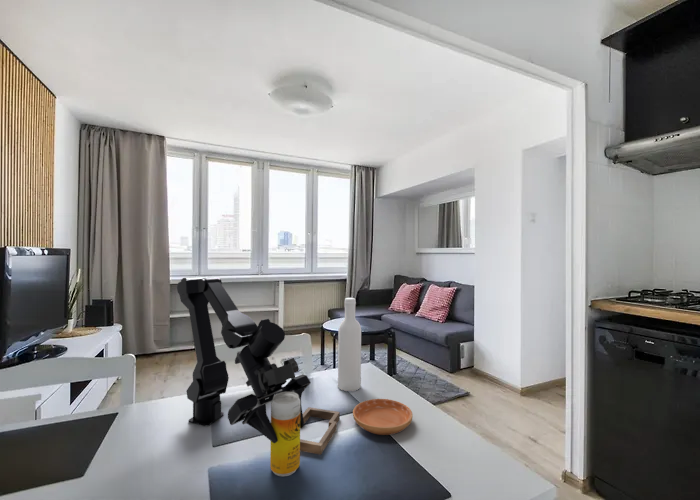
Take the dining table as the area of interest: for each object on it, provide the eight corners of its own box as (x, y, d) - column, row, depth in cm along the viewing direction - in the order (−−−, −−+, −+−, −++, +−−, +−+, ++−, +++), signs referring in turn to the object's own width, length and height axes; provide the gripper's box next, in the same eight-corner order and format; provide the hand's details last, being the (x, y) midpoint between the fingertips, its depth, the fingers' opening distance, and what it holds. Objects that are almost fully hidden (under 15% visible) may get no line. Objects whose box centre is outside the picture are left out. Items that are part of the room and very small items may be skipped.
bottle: (339, 381, 115) (340, 296, 115) (361, 382, 114) (362, 297, 114) (336, 391, 107) (337, 299, 107) (360, 392, 106) (360, 300, 106)
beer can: (293, 480, 65) (294, 404, 65) (265, 475, 66) (266, 401, 66) (303, 461, 71) (304, 392, 71) (277, 457, 72) (278, 389, 72)
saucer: (343, 431, 84) (343, 419, 84) (364, 404, 99) (364, 394, 99) (405, 445, 78) (405, 432, 78) (417, 414, 92) (417, 404, 93)
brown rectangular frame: (277, 446, 76) (277, 437, 76) (305, 413, 92) (305, 406, 92) (320, 454, 73) (321, 445, 73) (342, 419, 89) (342, 412, 89)
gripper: (236, 359, 64) (271, 436, 57) (305, 340, 79) (340, 399, 72) (214, 389, 69) (244, 463, 62) (283, 365, 83) (314, 423, 77)
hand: (289, 434), depth 68 cm, fingers open, 7 cm apart
